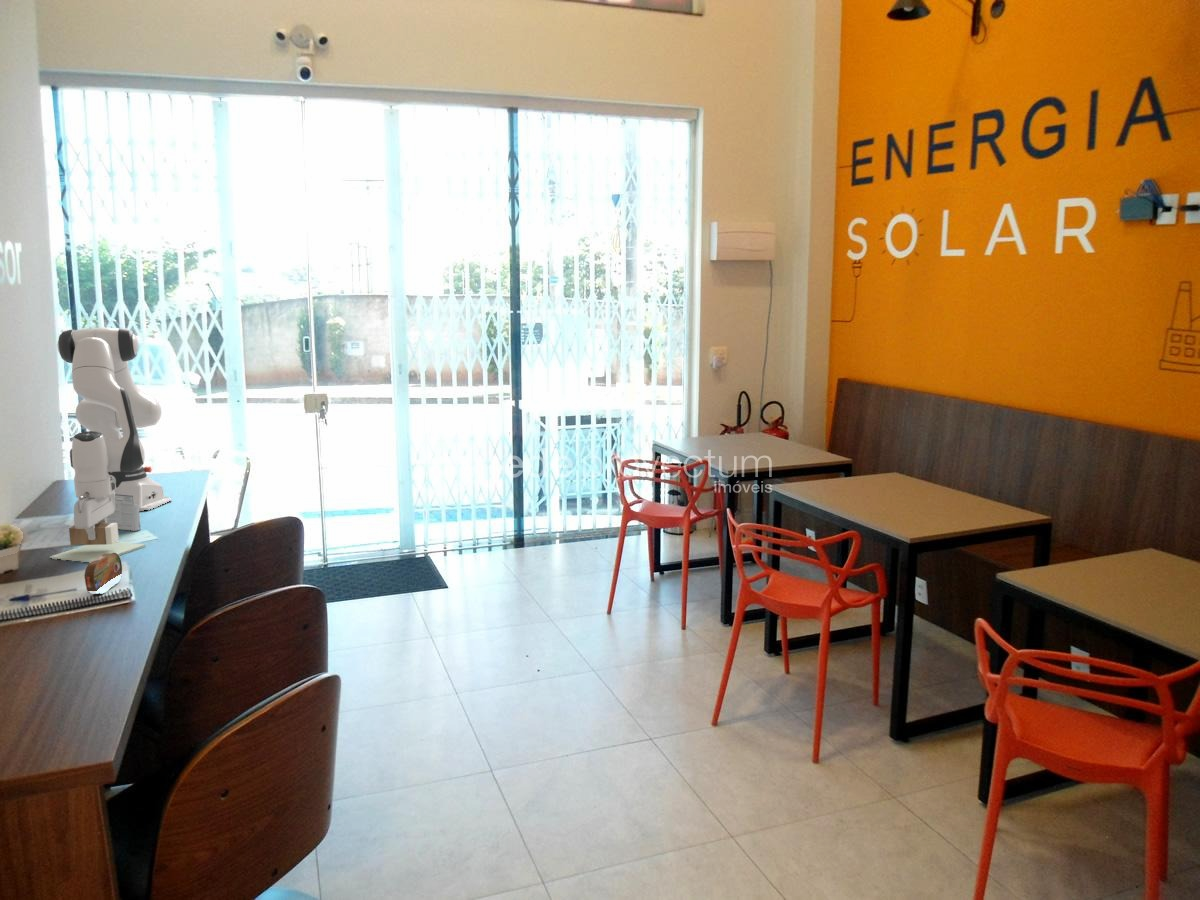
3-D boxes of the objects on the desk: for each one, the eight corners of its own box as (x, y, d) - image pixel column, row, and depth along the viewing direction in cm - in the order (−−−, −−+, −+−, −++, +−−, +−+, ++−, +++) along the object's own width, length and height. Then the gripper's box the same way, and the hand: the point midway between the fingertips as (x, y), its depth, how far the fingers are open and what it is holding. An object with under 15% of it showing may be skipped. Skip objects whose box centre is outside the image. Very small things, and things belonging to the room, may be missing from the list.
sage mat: (101, 541, 268) (101, 540, 268) (145, 546, 263) (145, 544, 263) (49, 558, 251) (49, 556, 251) (95, 563, 246) (95, 561, 246)
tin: (97, 599, 219) (94, 566, 217) (83, 599, 219) (80, 566, 217) (124, 579, 234) (121, 548, 232) (111, 579, 233) (109, 548, 232)
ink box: (141, 530, 282) (138, 494, 280) (135, 531, 280) (132, 495, 278) (113, 526, 285) (110, 491, 283) (107, 528, 283) (104, 493, 281)
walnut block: (76, 523, 257) (117, 522, 259) (77, 540, 258) (118, 539, 260) (68, 528, 252) (110, 527, 254) (70, 545, 253) (112, 544, 255)
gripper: (90, 497, 244) (94, 545, 247) (118, 481, 264) (121, 527, 266) (65, 497, 243) (69, 546, 246) (95, 482, 263) (99, 527, 266)
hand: (97, 536), depth 256 cm, fingers closed on walnut block, 5 cm apart
